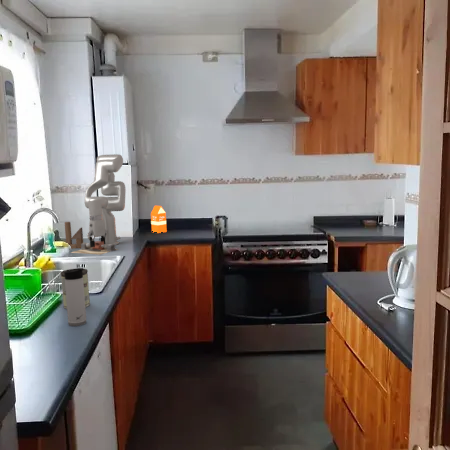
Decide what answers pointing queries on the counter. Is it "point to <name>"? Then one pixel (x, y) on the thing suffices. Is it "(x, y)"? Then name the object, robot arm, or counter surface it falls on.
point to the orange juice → (158, 219)
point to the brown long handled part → (77, 236)
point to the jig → (88, 250)
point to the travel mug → (75, 297)
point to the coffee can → (86, 288)
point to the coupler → (99, 245)
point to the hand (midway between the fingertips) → (98, 245)
